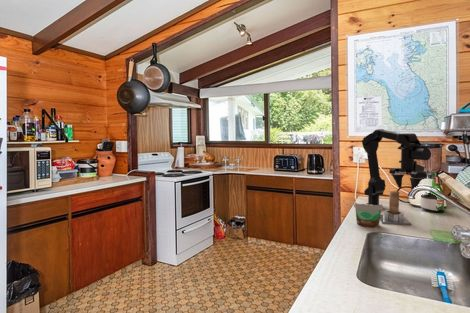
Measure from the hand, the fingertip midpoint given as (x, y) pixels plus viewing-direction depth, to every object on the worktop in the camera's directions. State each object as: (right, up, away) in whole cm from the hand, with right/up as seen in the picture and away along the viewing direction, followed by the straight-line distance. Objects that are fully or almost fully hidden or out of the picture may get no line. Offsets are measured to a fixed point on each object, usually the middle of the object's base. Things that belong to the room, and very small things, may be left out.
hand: (406, 189), depth 153 cm
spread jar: (+20, -12, +12) cm, 26 cm away
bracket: (-10, -14, -6) cm, 18 cm away
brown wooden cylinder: (-10, -13, -6) cm, 18 cm away
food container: (-25, -15, -14) cm, 32 cm away
